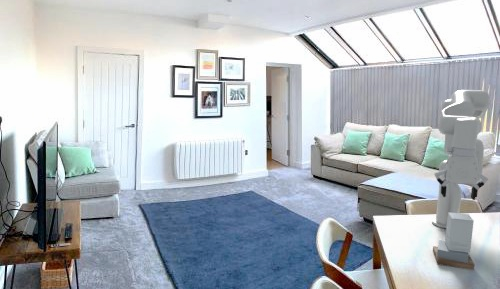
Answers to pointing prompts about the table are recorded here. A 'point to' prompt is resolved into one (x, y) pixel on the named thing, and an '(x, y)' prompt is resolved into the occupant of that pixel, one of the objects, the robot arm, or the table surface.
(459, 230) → the supplement box
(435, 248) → the walnut base slab
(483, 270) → the table surface
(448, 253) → the slate grey slab
